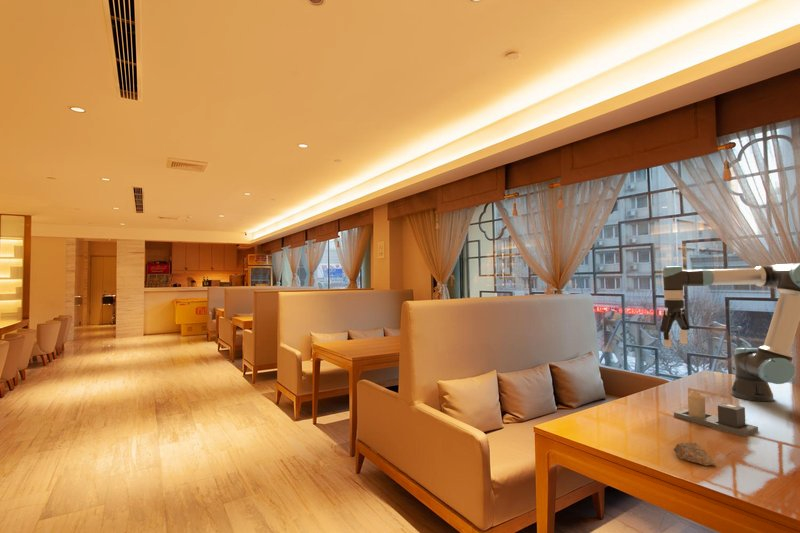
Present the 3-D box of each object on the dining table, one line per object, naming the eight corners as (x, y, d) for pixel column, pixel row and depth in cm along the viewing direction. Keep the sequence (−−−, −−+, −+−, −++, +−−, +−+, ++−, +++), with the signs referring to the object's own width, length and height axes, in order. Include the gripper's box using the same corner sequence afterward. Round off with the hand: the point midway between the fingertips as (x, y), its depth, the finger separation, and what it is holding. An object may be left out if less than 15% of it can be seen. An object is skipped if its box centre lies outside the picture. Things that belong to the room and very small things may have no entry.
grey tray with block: (687, 412, 171) (687, 392, 171) (758, 431, 150) (757, 408, 150) (674, 416, 167) (673, 395, 167) (744, 436, 145) (743, 412, 146)
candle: (708, 420, 160) (707, 394, 161) (692, 419, 162) (692, 394, 162) (701, 415, 166) (700, 390, 166) (686, 414, 167) (685, 390, 167)
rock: (669, 455, 132) (695, 463, 122) (669, 436, 133) (695, 443, 124) (693, 461, 133) (720, 469, 123) (693, 442, 134) (721, 448, 124)
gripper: (679, 297, 197) (681, 341, 196) (649, 300, 185) (652, 347, 184) (696, 298, 190) (699, 343, 190) (667, 301, 178) (669, 349, 178)
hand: (676, 345), depth 187 cm, fingers open, 13 cm apart
